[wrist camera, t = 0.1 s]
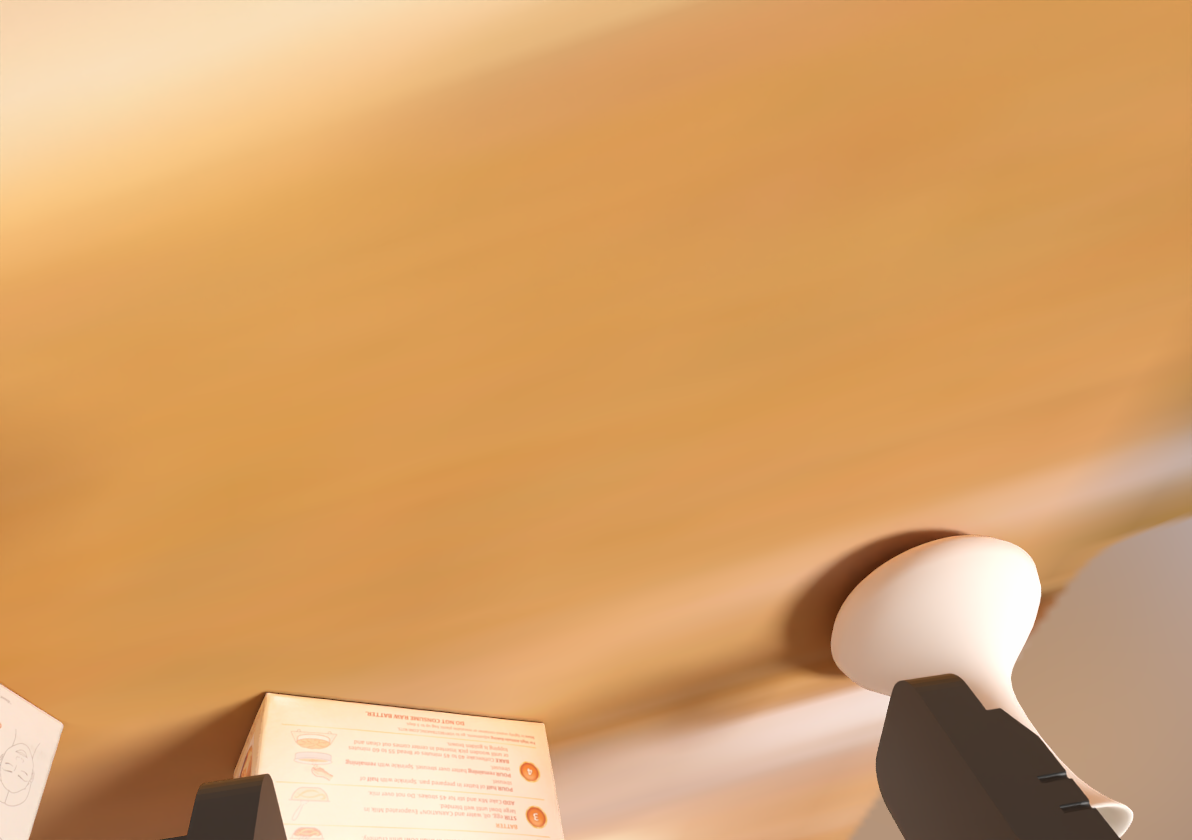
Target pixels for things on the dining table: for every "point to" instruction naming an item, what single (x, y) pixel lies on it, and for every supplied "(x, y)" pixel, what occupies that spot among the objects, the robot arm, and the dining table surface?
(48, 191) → the dining table surface
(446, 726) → the coffeecake box
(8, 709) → the small box
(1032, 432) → the dining table surface
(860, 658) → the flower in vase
